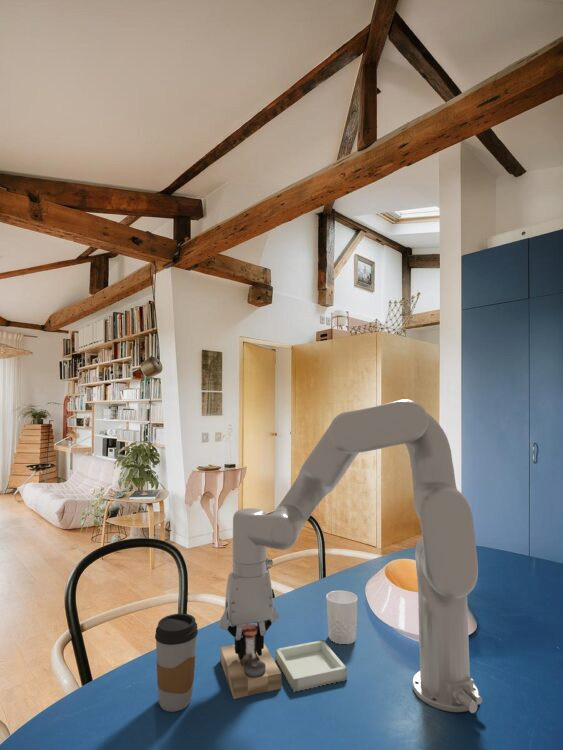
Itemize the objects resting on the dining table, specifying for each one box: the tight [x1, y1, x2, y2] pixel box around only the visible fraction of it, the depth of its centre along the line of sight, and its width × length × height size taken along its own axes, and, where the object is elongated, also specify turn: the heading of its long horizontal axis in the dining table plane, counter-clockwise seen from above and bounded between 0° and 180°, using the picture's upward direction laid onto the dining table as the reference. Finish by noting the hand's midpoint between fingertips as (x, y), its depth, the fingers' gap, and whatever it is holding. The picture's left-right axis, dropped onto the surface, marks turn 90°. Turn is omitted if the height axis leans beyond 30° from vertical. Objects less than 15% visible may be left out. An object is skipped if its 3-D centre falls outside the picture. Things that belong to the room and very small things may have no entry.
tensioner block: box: [219, 643, 282, 700], centre depth 95 cm, size 14×10×5 cm
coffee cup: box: [154, 613, 199, 712], centre depth 86 cm, size 8×8×15 cm
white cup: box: [325, 590, 358, 645], centre depth 110 cm, size 8×8×10 cm
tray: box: [275, 639, 348, 693], centre depth 96 cm, size 12×12×2 cm
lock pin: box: [241, 623, 258, 667], centre depth 95 cm, size 4×4×10 cm
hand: (249, 653), depth 95 cm, fingers closed on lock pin, 3 cm apart
